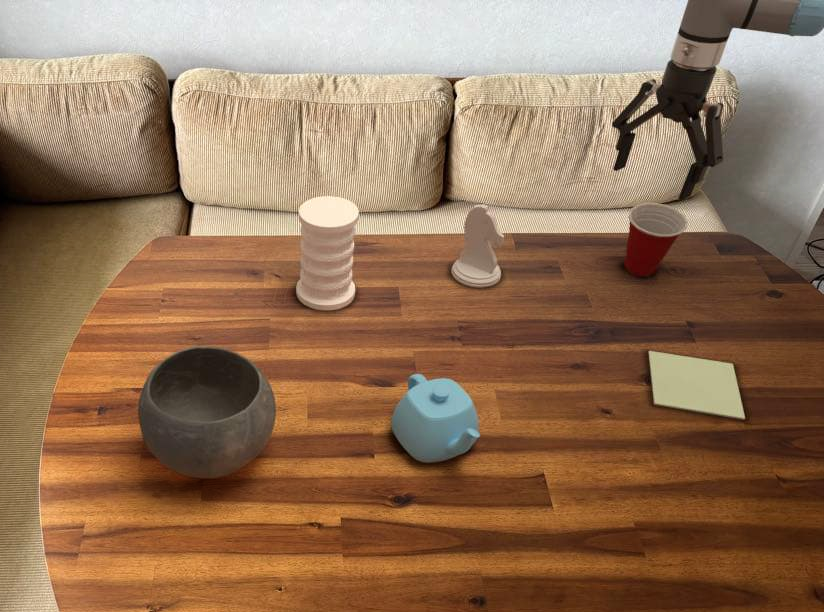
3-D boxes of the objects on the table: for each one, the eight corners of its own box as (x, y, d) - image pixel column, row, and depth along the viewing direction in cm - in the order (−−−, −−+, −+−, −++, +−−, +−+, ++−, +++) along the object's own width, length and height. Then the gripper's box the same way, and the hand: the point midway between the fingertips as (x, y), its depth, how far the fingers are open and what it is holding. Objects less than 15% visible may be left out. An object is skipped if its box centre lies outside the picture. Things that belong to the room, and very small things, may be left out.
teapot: (443, 447, 107) (378, 370, 119) (433, 496, 115) (373, 418, 126) (517, 420, 111) (447, 347, 123) (502, 469, 118) (438, 396, 130)
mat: (732, 365, 135) (732, 363, 135) (744, 420, 126) (745, 418, 125) (648, 352, 138) (648, 350, 138) (653, 404, 128) (654, 403, 128)
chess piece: (486, 293, 151) (501, 226, 140) (442, 276, 155) (453, 210, 145) (508, 270, 156) (524, 204, 146) (465, 254, 161) (477, 189, 150)
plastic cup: (612, 280, 154) (631, 228, 145) (609, 251, 161) (627, 199, 153) (670, 287, 152) (692, 235, 143) (664, 258, 159) (685, 206, 151)
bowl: (212, 526, 111) (204, 456, 100) (118, 457, 121) (102, 387, 110) (302, 447, 122) (303, 377, 111) (210, 390, 131) (203, 320, 121)
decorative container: (346, 315, 146) (351, 232, 134) (288, 304, 149) (288, 222, 136) (361, 281, 154) (367, 200, 142) (305, 271, 157) (307, 191, 144)
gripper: (614, 46, 131) (581, 162, 146) (753, 93, 117) (701, 217, 131) (640, 36, 134) (606, 151, 149) (779, 81, 120) (726, 203, 135)
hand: (650, 182), depth 140 cm, fingers open, 13 cm apart
